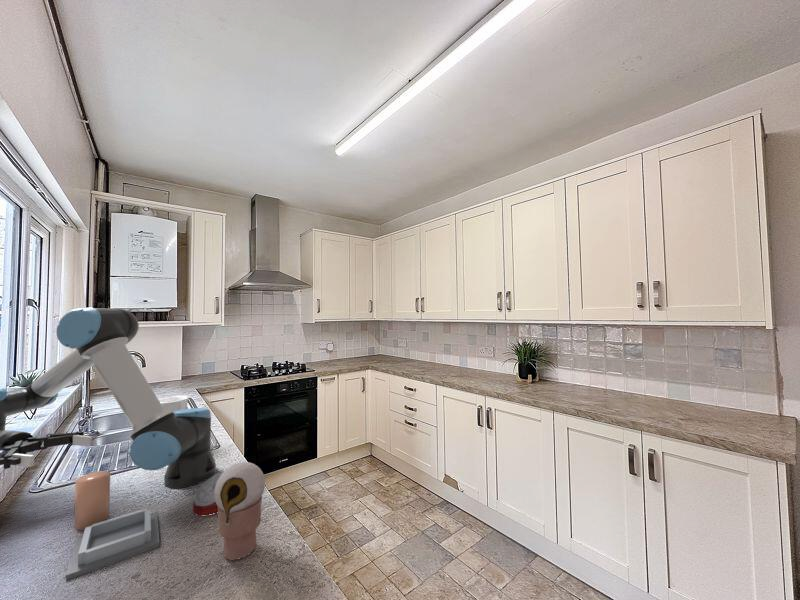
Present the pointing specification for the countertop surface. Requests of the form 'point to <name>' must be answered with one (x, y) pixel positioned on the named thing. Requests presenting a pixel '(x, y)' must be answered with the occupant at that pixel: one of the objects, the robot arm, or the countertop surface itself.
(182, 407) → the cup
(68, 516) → the countertop surface
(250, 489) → the ice cream cone
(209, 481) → the canned food
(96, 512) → the peach round cylinder
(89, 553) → the grey rectangular tray
